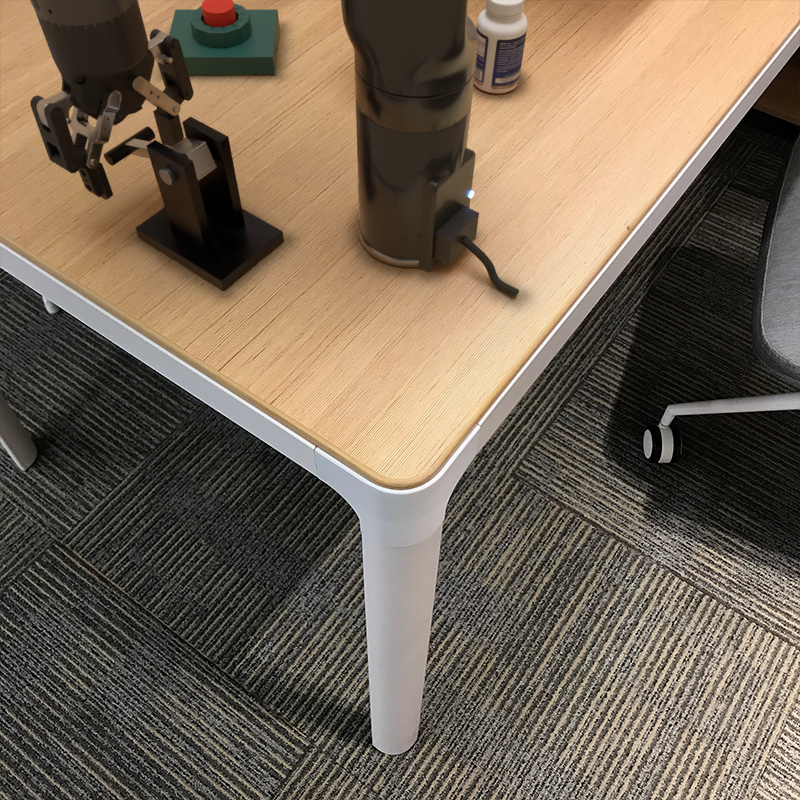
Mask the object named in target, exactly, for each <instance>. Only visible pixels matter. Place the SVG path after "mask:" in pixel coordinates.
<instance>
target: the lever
mask: <svg viewBox="0 0 800 800" xmlns="http://www.w3.org/2000/svg"><path fill="white" fill-rule="evenodd" d="M154 140H156V133H155V132H154V130H153V129H152V128H151V126H145V127H144V128H142V129H140V130H139V131H136V133H135V134H133V135H131V136H130V137H128V138H126V139H125V140H123V141H122V142H120V143H119V144H117V145H116V146H114V147H112V148H111V149H109V150H107V151H106V152H105V153H103V159H104V160H105V161H106V163H107V164H109V166H112V167H113V166H115V165H117V164H118V163H120V162H121V161H123V160H125V159H126V158H128V157H129V156H136V157H140V158H146V159H149V160H150V157H149V153H148V150H147V147H146V146H147V145H148V144H150V143H151V142H153V141H154ZM163 145H164V144H163ZM165 146H167V147H169V148H170V149H172V150H174V151H176V152H178V153H179V154H181V155H183V156H185V157H187V158H188V159H190V160H192V161H193V163H194V167H195V171H196V176H197V180H198V181H199V180H200V179H202V178H203V177H205V176H206V175H207V174H209V173H210V172H212V171H213V170H214V169H216V168H217V167H216V164H215V162H214V159H213V157H212V155H211V152H210V150H209V148H208V145H207V143H206V142H205V141H199V140H194V139H189V138H186V137H184V139H183V140H181V141H180V142H178V143H177V144H175V145H174V146H169V145H165Z"/></svg>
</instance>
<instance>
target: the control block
mask: <svg viewBox="0 0 800 800" xmlns="http://www.w3.org/2000/svg"><path fill="white" fill-rule="evenodd" d="M234 6H235V13H236V22H235V23H233V24H232V25H228V26H225V27H211V26H208V25H206V24H205V22H204V18H203V13H202V7H201V6H199V7H198V8H197V9H174V13H173V18H172V21H171V25H170V29H169V33H168V34H169V35H171V36H172V37H174V38H176V39H178V40H179V42H180V45H181V49H182V52H183V56H184V59H185V63H186V67H187V70H188V74H189V76H274V75H276V69H277V59H278V58H277V57H278V47H279V36H280V17H279V10H278V9H272V8H271V9H266V8H265V9H260V8H259V9H255V8H254V9H253V8H252V9H247V8H245V6H243V5H241V4H237V3H235V2H234Z"/></svg>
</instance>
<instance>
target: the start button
mask: <svg viewBox="0 0 800 800" xmlns="http://www.w3.org/2000/svg"><path fill="white" fill-rule="evenodd" d="M234 3H235V2H234V0H203V1H202V2H201V4H200V5H201V7H202V13H203V18H204V22H205V24H206V25H208V26H211V27H225V26H228V25H232V24H233V23H235V22H236V13H235V6H234Z"/></svg>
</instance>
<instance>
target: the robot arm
mask: <svg viewBox="0 0 800 800" xmlns="http://www.w3.org/2000/svg"><path fill="white" fill-rule="evenodd" d="M29 2H30V4H31V6H32V7H33V10H34V12H35V15H36V18H37V21H38V23H39V26H40V28H41V31H42V33H43V37H44V39H45V41H46V44H47V47H48V50H49V52H50V55H51V58H52V60H53V61H54V64H55V66H56V68H57V69H58V71H59V73H60V76H61V91H59V92H58V93H55V94H54V95H51V96H50V97H47V98H44V97H42V96H41V95H34V96H33V97H32V98H31V99H30V103H29V104H30V108H31V112H32V114H33V117H34V119H35V122H36V125H37V128H38V131H39V133H40V136H41V140H42V142H43V145H44V148H45V150H46V153H47V156H48V159H49V160H50V161H51V162H52V163H54V164H55V165H57V166H59V167H60V168H62V169H63V170H65V171H67V172H69V174H76V173H79V176H80V178H81V181H82V184H83V186H84V189H86V190H87V191H88V192H90V193H91V194H92V195H95V196H96V197H97V198H102V199H104V200H105V201H107V200H109V199H110V198H112V197H113V196H114V193H113V190H112V186H111V184H110V181H109V178H108V175H107V173H106V170H105V167H104V165H103V163H102V162H100V161H101V157H102V152H103V148H104V146H105V144H108V143H109V142H110V138H111V135H112V130H113V126H114V127H115V126H118V124H120V123H122V122H123V121H124V120H125V119H126V118H127V117H128V116H130V115H132V114H137V113H139V112H140V111H141V110H143V105H144V103H145V102H146V101H147V103H149V104H151V105H153V106H154V107H155V108H156V109H154V110H153V111H152V113H153V117H154V120H155V124H156V127H157V131H158V134H159V137H160V143H162V144H164V145H169V146H174V145H175V144H177V143H178V142H180V141H181V140H183V139H184V138H185V133H184V130H183V126H182V122H181V119H180V115H179V114H180V112H181V109H182V107H181V105H182V104H183V103H184V102H185V101H187V102H188V101H190V100H192V99H193V97H194V89H193V84H192V82H191V78H190V75H189V74H188V70H187V67H186V63H185V59H184V56H183V52H182V49H181V45H180V42H179V40H178V39H176V38H174V37H172V36H171V35H169V33H166V32H165V31H162V30H160V29H158V28H153V29H152V30H151V31H150V32H149V37H148V34H147V30H146V27H145V23H144V20H143V15H142V11H141V8H140V4H139V0H29ZM468 3H469V1H468V0H340V5H341V12H342V20H343V25H344V29H345V32H346V35H347V37H348V39H349V42H350V43H351V46H352V47H353V53H354V87H355V90H354V91H355V124H356V127H355V128H356V154H357V193H358V195H357V196H358V215H359V218H358V237H359V241H360V243H361V244H362V246H363V248H364V250H366V251H367V252H368V253H369V254H370V255H371V256H372V257H374V258H375V259H377V260H378V261H381V262H383V263H386V264H387V265H391V266H394V267H395V266H396V267H401V268H420V269H423V270H425V271H426V272H430V271H433V269H434V268H435V267H436V266H437V265H438V264H439V263H441V264H444V265H445V266H447V267H448V266H450V265H451V264H452V263H453V262H454V261H455V260H456V259H457V258H458V257H459V256H460V255H461V254H462V253H463V252H464V251H465V250H466V249H467V250H469V252H471V253H472V254H473V256H474V257H476V259H478V260H479V261H480V262H481V263H482V265H483V266H484V267H485V270H486V272H487V274H488V277H489V280H490V281H491V283H492V284H493V285H494V286H495V287H496V288H497V289H499V290H500V291H502V292H504V293H506V294H508V295H511V296H512V297H514V298H515V297H517V296H518V295H519V293H520V289H518V288H516V287H514V286H513V285H511V284H508V283H506V282H505V281H503V280H502V279H501V278H500V277H499V275H498V273H497V270H496V267H495V265H494V263H493V261H492V260H491V259H490V257H489V256H488V255H487V254H486V253H485V252H484V251H483V250H482V249H481V248H480V247H479V246H478V245H476V243H474V242H475V240H476V238H477V231H478V224H479V219H480V218H479V216H480V213H479V212H478V211H476V210H474V209H472V208H470V207H471V199H472V198H473V197H474V195H475V191H474V190H472V189H473V182H474V173H475V165H476V156H477V154H476V152H475V150H473V149H471V148H469V147H468V141H469V140H468V139H469V130H470V121H471V113H472V103H473V93H474V86H475V85H474V77H475V67H476V59H477V50H478V34H477V30H476V27H477V26H476V25H475V23H474V22H473V19H471V18H470V16H469V15H468V5H469V4H468ZM155 62H157V63H156V64H157V66H158V69H159V73H160V75H161V78H162V81H163V85H164V89H163V90H161V89H159V88H158V87H156V86H155V85H154V84H153V83H151V79H152V75H153V71H154V67H155ZM72 107H73V110H72V114H71V118H70V111H71V108H72ZM89 117H91V118H92V119H94V120H96V124H95V126H94V125H91V124H90V122H89ZM69 125H70V127H69ZM70 128H71V130H72V134H71V130H70Z"/></svg>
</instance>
